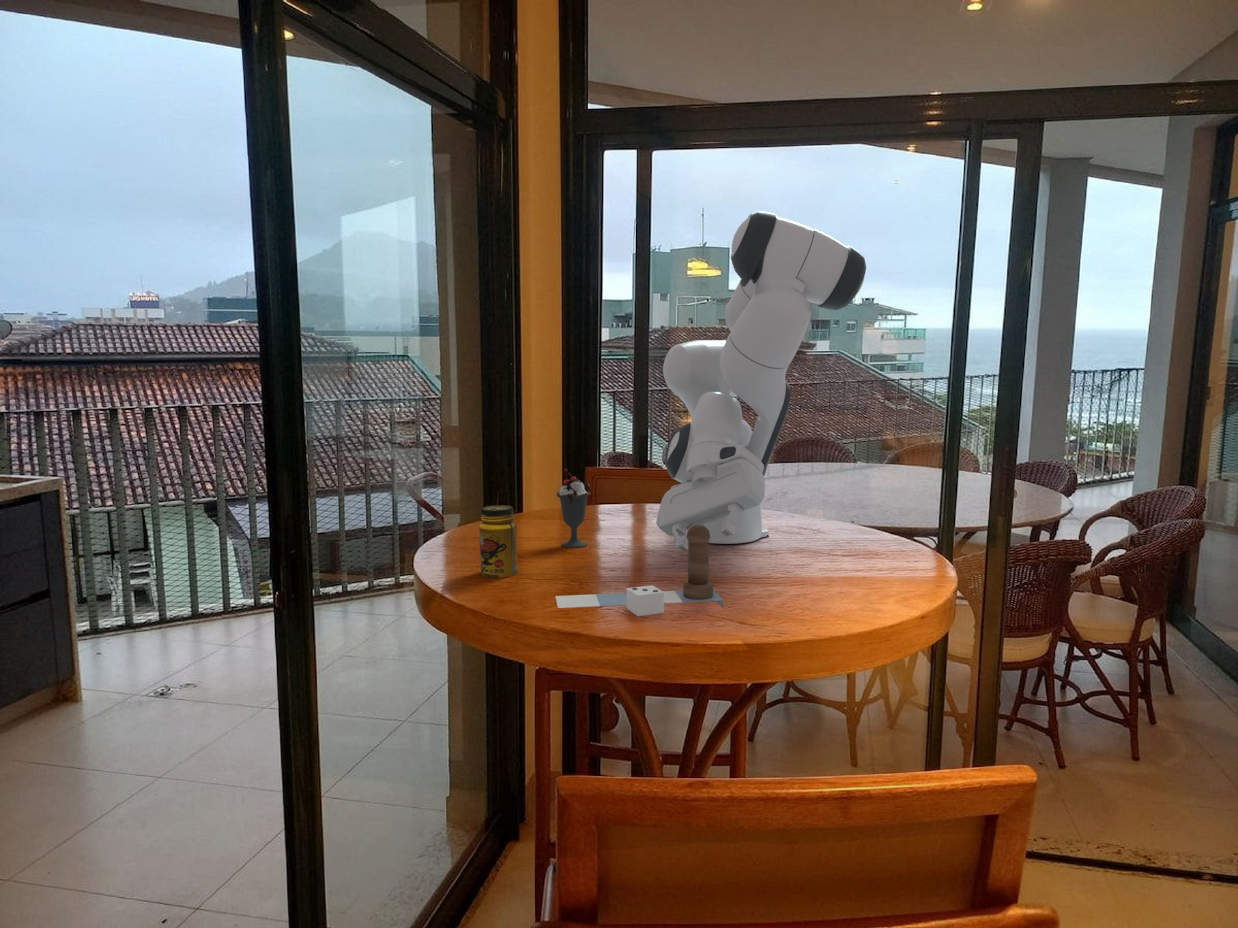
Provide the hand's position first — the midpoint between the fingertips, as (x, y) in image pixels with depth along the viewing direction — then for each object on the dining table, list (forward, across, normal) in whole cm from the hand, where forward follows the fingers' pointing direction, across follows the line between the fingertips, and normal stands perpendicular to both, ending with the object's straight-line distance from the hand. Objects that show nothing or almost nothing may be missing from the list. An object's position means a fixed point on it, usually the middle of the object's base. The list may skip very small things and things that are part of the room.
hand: (704, 541), depth 137 cm
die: (+18, 0, -11) cm, 21 cm away
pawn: (+12, +2, -3) cm, 12 cm away
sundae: (-10, -35, +2) cm, 37 cm away
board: (+14, -4, -9) cm, 17 cm away
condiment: (+7, -29, -16) cm, 34 cm away
